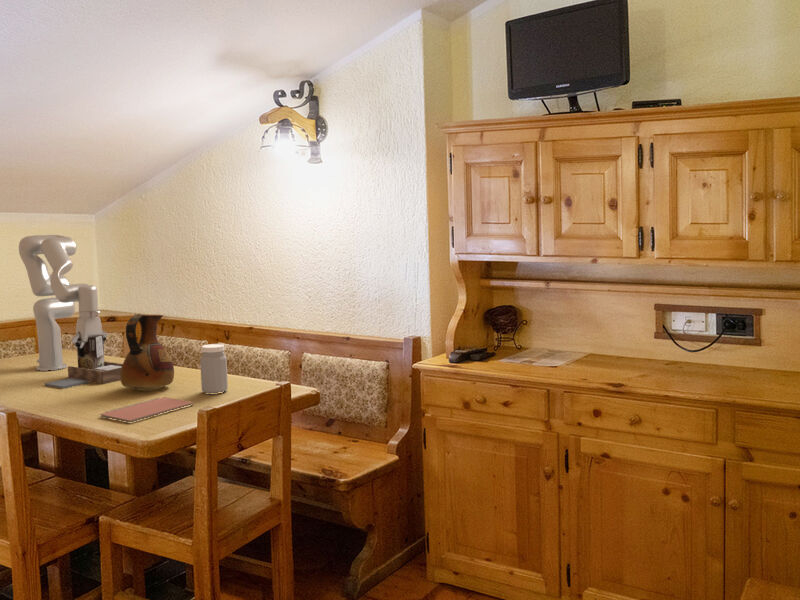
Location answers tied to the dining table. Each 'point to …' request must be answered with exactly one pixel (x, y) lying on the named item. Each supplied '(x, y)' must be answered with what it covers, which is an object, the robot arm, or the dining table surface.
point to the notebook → (145, 409)
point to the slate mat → (66, 383)
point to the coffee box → (92, 353)
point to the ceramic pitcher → (146, 357)
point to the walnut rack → (96, 374)
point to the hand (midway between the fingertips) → (90, 354)
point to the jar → (213, 369)
